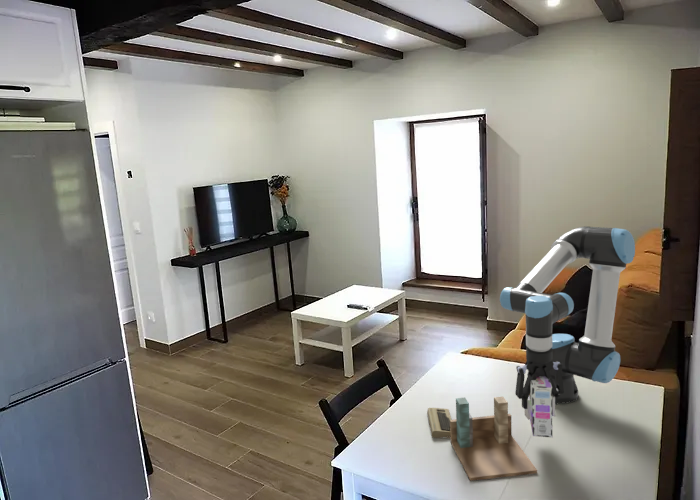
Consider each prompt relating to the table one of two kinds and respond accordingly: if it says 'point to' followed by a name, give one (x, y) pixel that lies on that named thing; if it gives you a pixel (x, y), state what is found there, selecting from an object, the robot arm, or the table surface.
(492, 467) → the shelf
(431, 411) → the computer
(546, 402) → the candy box
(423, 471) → the table surface
